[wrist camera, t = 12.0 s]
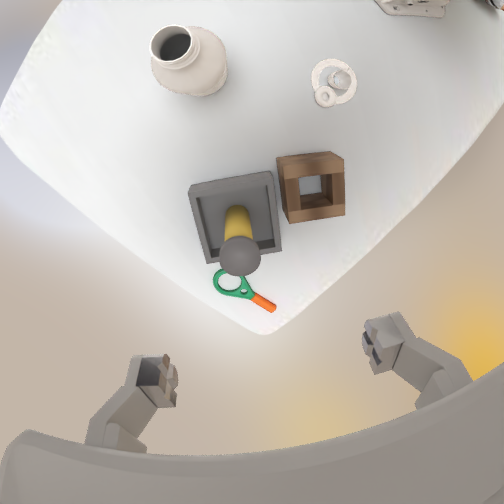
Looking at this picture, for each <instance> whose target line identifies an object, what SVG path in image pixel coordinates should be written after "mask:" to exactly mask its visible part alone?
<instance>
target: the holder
mask: <svg viewBox="0 0 504 504" xmlns="http://www.w3.org/2000/svg"><path fill="white" fill-rule="evenodd" d="M276 159H277V167H278V175H279V183H280V191H281V199H282V208H283V211H284V213H285V215H286V218H287V220H288V222H289V224H292V223H299V222H305V221H311V220H317V219H324V218H330V217H337V216H344V215H345V179H344V159H342V158H341V157H339V156H337V155H336V154H334V153H332V152H331V151H329V152H318V153H309V154H300V155H292V156H285V157H277V158H276ZM314 175H321V187H322V193H315V194H308V195H301V196H300V193H299V182H298V178H299V177H306V176H314Z"/></svg>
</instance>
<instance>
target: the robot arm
mask: <svg viewBox="0 0 504 504" xmlns="http://www.w3.org/2000/svg"><path fill="white" fill-rule="evenodd" d="M374 1H376V2H377V3H378V5H379V6H380V7H381V8H382V9H383V10H384V12H386V13H387V14H389V15H410V16H425V17H436V18H441V17H443V16H444V14H445V5H447V4H448V3H449V2H450V0H374ZM394 8H395V10H394ZM364 327H365V329H366V331H365V332H364V333H363V336H362V345H363V349H364V351H365V354H366V355H368V356H369V357H371V358H370V362H369V363H370V365H371V368H372V370H373V372H374V374H379V373H382V372H385V371H389V370H392V369H393V371H394V372H395V373H396V374H398V375H399V376H400V377H402V378H403V379H404V380H405V381H407V382H408V383H410V384H411V385H412V386H413V387H415V388H416V389H418V390H419V391H420V392H421V394H420V396H419V397H418V399H417V400H416V402H415V406H416V408H417V410H416V411H413V412H411V413H409V414H406V415H404V416H401V417H399V418H396V419H393V420H391V421H388V422H385V423H382V424H380V425H377V426H374V427H371V428H367V429H364V430H361V431H358V432H354V433H351V434H347V435H344V436H340V437H336V438H332V439H328V440H324V441H320V442H315V443H311V444H306V445H300V446H295V447H289V448H283V449H277V450H270V451H262V452H253V453H242V454H229V455H201V456H188V455H185V456H184V455H160V454H147V453H146V451H147V447H146V446H145V445H144V444H143V443H142V442H140V441H139V440H138V439H137V438H138V437H139V435H140V434H141V432H142V431H143V429H144V428H145V427H146V425H147V424H148V422H149V421H150V419H151V418H152V416H153V415H154V414H155V412H156V411H157V408H167V407H176V397H177V394H176V392H175V391H174V389H175V388H176V387H177V386H178V374H177V371H176V368H175V366H174V365H173V364H171V363H170V358H169V357H168V355H167V354H155V355H134V356H133V357H132V358H131V361H130V365H129V369H128V373H127V377H126V381H125V386H121V387H120V388H119V390H118V391H117V392H116V393H115V394H114V395H113V396H112V397H111V398H110V399H109V400H108V401H107V402H106V403H105V404H104V405H103V406H102V408H100V410H99V411H98V412H97V413H96V414H95V415H94V416H93V417H92V418H91V419H90V422H89V426H88V430H87V435H86V439H85V444H81V443H76V442H72V441H68V440H64V439H60V438H56V437H53V436H49V435H46V434H43V433H40V432H37V431H34V430H25V431H24V432H22V433H21V434H20V435H19V436H18V437H16V438H15V439H14V440H13V441H12V442H11V443H10V444H9V445H8V447H7V448H6V451H5V453H4V456H3V458H2V462H1V465H0V504H504V362H503V363H502V364H500V365H499V366H497V367H496V368H495V369H493V370H491V371H490V372H488V373H486V374H485V375H483V376H482V377H480V378H478V379H477V380H475V381H473V380H472V378H471V377H470V375H469V373H468V372H467V370H466V368H465V367H464V365H463V363H462V362H461V360H460V359H458V358H457V357H454V356H453V355H451V354H449V353H447V352H445V351H444V350H442V349H440V348H438V347H436V346H434V345H432V344H431V343H429V342H427V341H425V340H423V339H421V338H416V337H415V335H414V334H413V332H412V330H411V329H410V327H409V326H408V324H407V322H406V321H405V319H404V318H403V316H402V315H401V313H400V312H395V313H392V314H388V315H383V316H380V317H377V318H373V319H370V320H367V321H366V322H365V325H364Z"/></svg>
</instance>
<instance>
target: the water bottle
mask: <svg viewBox="0 0 504 504" xmlns="http://www.w3.org/2000/svg"><path fill="white" fill-rule="evenodd" d="M150 52H151V55H152V57H151V68H152V72H153V75H154V77H155V78H156V80H157V81H158V82H159V83H160V85H162V86H163V87H164V88H166V89H168V90H169V91H172V92H175V93H180V94H188V95H194V96H207V95H210V94H213V93H215V92H216V91H218V90H219V89H220V88H221V87H222V86H223V84H224V83H225V81H226V78H227V74H228V69H227V59H226V50H225V47H224V45H223V43H222V41H221V40H220V39H219V38H218V36H216V35H215V34H214V33H213V32H211V31H209V30H207V29H204V28H201V27H195V26H189V27H183V26H180V25H168V26H166V27H163V28H161V29H160V30H158V31H157V32H156V33H155V34H154V35H153V37H152V39H151V41H150Z"/></svg>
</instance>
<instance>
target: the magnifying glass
mask: <svg viewBox="0 0 504 504" xmlns="http://www.w3.org/2000/svg"><path fill="white" fill-rule="evenodd" d="M225 273H227V272H225V271H224V270H223V269H220V270H218V271H217V272H216V273H215V275H214V277H213V284H214V287H215V288H216V290H217V291H218V292H220V293H221V294H224V295H227V296H233V297H239V298H245V299H249V300H251V301H253V302H254V303H256V304H258V305H259V306H261V307H262V308H264V309H266V310H267V311H269V312H271V313H272V312H274V311H275V310H276V305H274V304H272V303H271V302H269V301H268V300H266V299H265V298H263V297H261V296H260V295H258V294H257V293H255V292H253V290H252V289H251V287H250V285H249V284H248V282H247V280H246V278H245V277H244V276H239V277H240V278H241V280H242V283H241V285H240V286H239V287H238V288H237V289H235V290H225V289H223V288H221V287H220V286H219V284H218V278H219V277H220V276H221V275H223V274H225ZM242 289H246V290H247V292H245V293H243V292H241V290H242Z"/></svg>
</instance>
